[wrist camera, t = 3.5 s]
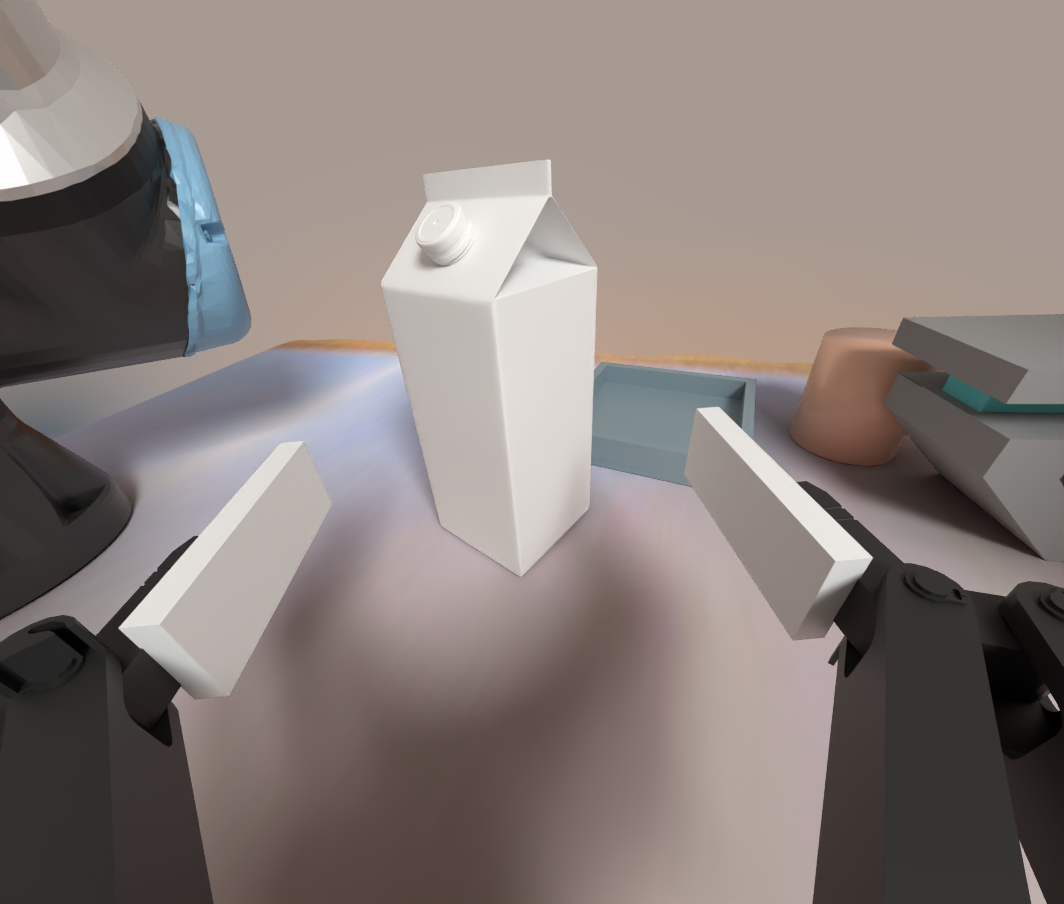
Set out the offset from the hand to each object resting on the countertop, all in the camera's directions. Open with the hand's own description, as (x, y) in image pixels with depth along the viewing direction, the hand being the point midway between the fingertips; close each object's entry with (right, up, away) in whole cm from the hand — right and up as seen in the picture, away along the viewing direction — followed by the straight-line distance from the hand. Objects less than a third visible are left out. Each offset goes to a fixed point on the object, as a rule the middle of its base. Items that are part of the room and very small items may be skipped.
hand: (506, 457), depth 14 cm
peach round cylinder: (+26, +1, +18) cm, 31 cm away
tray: (+12, +2, +21) cm, 24 cm away
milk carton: (0, -4, +13) cm, 13 cm away
